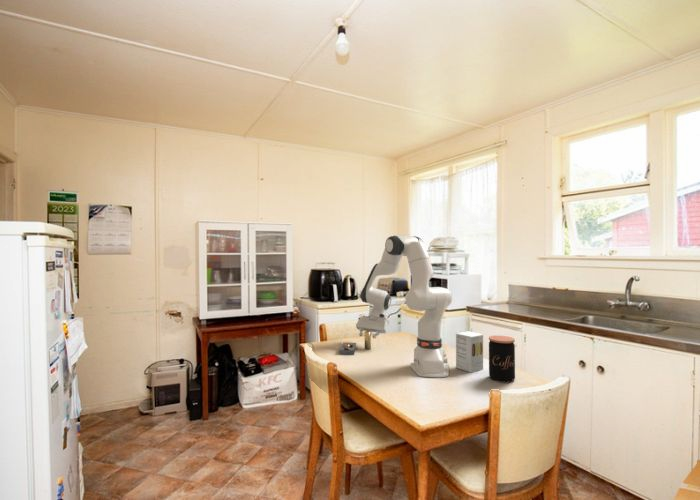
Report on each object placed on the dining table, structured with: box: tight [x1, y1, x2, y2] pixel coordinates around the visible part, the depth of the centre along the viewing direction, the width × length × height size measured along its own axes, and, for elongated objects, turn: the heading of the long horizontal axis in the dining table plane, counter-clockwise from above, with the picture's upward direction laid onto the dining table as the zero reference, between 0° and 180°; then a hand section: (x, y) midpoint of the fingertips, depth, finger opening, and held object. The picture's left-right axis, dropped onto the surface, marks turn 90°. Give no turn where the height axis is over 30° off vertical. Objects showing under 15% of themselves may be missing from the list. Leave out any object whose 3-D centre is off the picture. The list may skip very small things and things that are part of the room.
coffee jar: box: [488, 335, 516, 383], centre depth 157 cm, size 11×11×18 cm
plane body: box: [339, 342, 357, 356], centre depth 203 cm, size 16×8×5 cm, turn 174°
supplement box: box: [455, 330, 484, 373], centre depth 171 cm, size 10×9×17 cm
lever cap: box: [364, 331, 372, 351], centre depth 206 cm, size 4×4×10 cm
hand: (367, 336), depth 205 cm, fingers open, 8 cm apart
